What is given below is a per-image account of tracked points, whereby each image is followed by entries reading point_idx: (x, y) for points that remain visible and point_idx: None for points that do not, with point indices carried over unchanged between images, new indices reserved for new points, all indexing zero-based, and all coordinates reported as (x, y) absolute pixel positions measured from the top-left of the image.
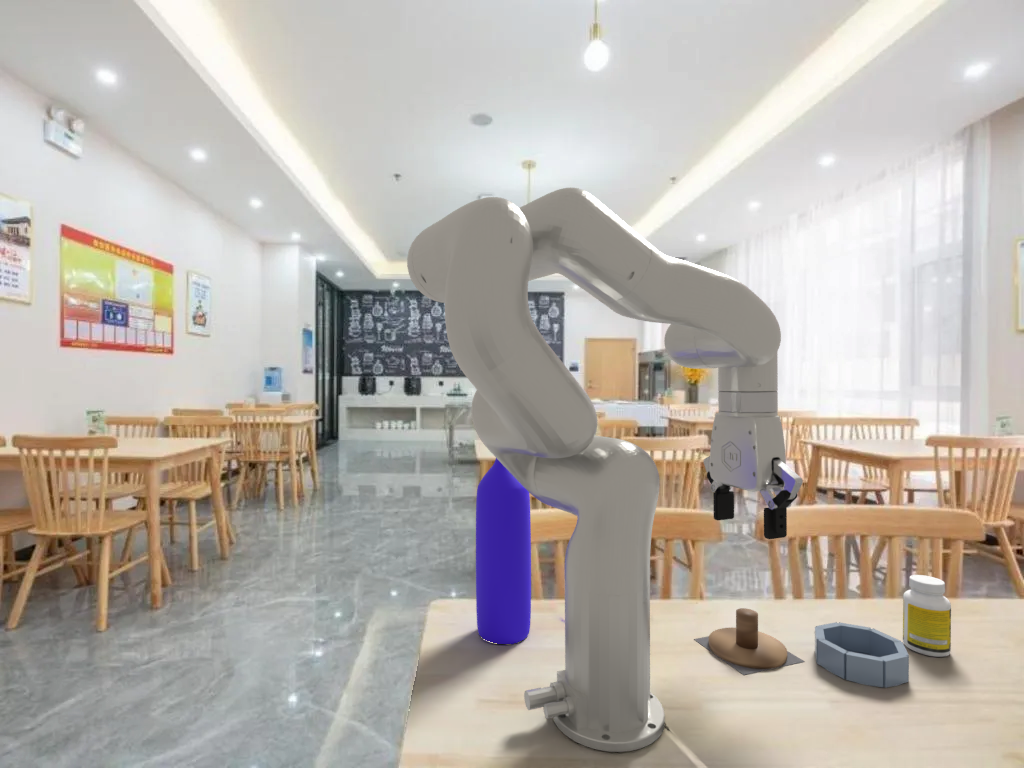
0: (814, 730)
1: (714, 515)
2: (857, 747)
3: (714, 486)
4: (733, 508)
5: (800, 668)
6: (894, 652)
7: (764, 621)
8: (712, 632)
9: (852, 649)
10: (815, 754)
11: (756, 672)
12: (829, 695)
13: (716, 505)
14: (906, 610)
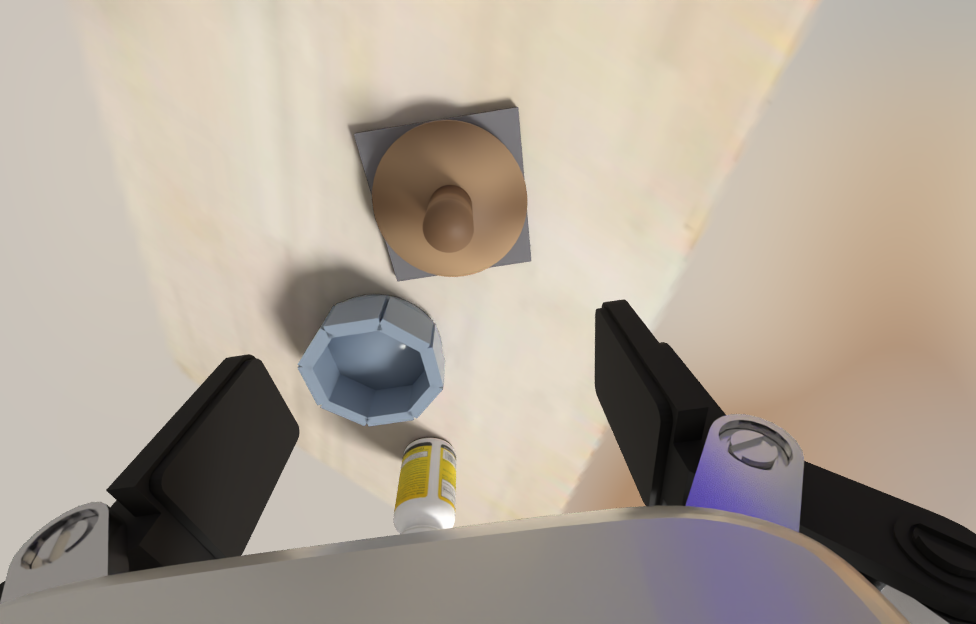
0: (191, 161)
1: (622, 307)
2: (155, 200)
3: (751, 463)
4: (611, 425)
5: (391, 266)
6: (363, 403)
7: (562, 309)
8: (514, 160)
9: (424, 371)
10: (114, 113)
11: (364, 169)
12: (305, 257)
13: (636, 352)
14: (431, 484)
